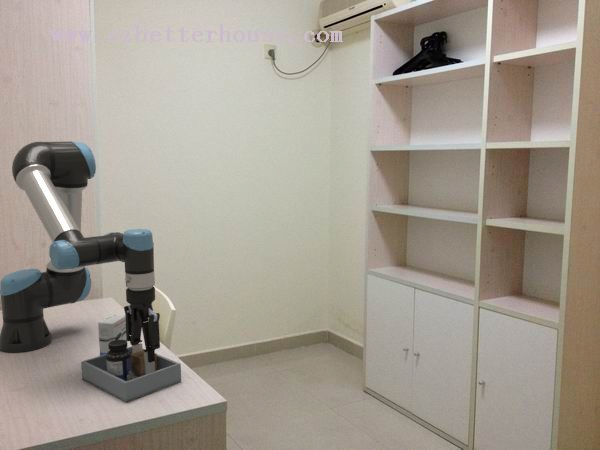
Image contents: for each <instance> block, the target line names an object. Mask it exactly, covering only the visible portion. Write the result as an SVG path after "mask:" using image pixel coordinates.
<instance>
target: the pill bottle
mask: <svg viewBox="0 0 600 450" xmlns="http://www.w3.org/2000/svg"><path fill="white" fill-rule="evenodd" d="M127 343H128V341H126V340H114V341H111V342H109V344H108V348H109V349H110V351H109V352H108V353H107V355H106V360H107V372H108V373H110V374H112V375H114V376H116V377H118V378H120V379H122V380H124V381H129V380H132V372H131V353H130V351H129V350H128V349H127Z"/></svg>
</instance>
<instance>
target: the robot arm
mask: <svg viewBox="0 0 600 450" xmlns="http://www.w3.org/2000/svg"><path fill="white" fill-rule="evenodd" d="M96 169H97V163H96V159H95V155H94V153H93V151H92V150H91V147H90V146H88V145H87V144H86V143H84V142H81V141H35V142H30V143H28V144H26V145H24V146H23V147H21V149H19V151H18V152H17V153H16V154H15V156H14V158H13V161H12V166H11V173H12V177H13V180H14V182H15V184H16V185H17V187H18V188H19V189H21V190H22V191H24V192H25V194H26V196H27V198H28V200H29V201H30V203H31V205H32V207H33V209H34V210H35V212H36V214H37V216H38V218H39V220H40V222H41V223H42V225H43V227H44V229H45V231H46V233H47V234H48V236H49V238H50V240H51V244H50V246H49V249H48V250H49V251H48V252H49V253H48V255H49V258H50V260H49V261H48V262H47V263H46V270H45V271H43V272H42V271H41V270H40V269H39V268H38V269H37V268H28V269H20V270H16V271H13V272H10V273H8V274H6V275H4V276H3V277H2V278H1V279H0V304H1V311H2V315H1V316H2V326H1V330H0V351H2V352H6V353H22V352H23V353H24V352H28V351H33V350H37V349H41V348H44V347H46V346H48V345H50V344H51V342H52V334H51V331H50V329H49V326H48V325H47V322H46V320H45V318H44V317H45V315H44V309H49V308H54V307H58V306H59V307H60V306H63V305H68V304H69V305H70V304H75V303H77V302H81V301H83V300H85V299H87V298H88V296H89V294H90V293H91V292H90V291H91V288H92V277H91V271H90V270H89V268H88V267H89V266H95V265H102V264H108V263H113V262H121V263H124V273H125V279H124V280H125V287H126V289H125V298H126V303H127V304H129V305H125V306H124V307H123V309H124V315H125V316H126V339H127V342H129V343H130V345H131V346H132V354H133V353H136V352H139V351H142V348H143V343H142V342H143V341H144V347H145V348H144V349H145V350H144V362H145V374H149V373H152V372H155V353H156V350H157V349H160V347H161V340H160V318H161V317H160V316H161V315H160V313H159V312H155V311H154V309H153V303H154V301H155V300H156V287H154V286H155V283H156V281H155V280H156V278H155V257H154V255H155V254H154V248H155V247H154V246H155V243H154V241H153V240H154V239H153V232H152V231H151V230H150V229H147V228H143V229H142V228H134V229H128V230H126V231H123V233H122V232H119V231H118V232H113V231H112V232H108V233H106V234H104V235H98V236H97V235H96V236H90V237H87V236H86V237H84V235H83V234H82V211H83V209H82V208H83V207H82V206H83V202H82V201H83V191H84V190H85V189H86V188H87V187H88V180H91V179H92V178H94V177H95V174H96ZM142 336H143V340H142V339H141V337H142Z"/></svg>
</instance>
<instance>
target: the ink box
mask: <svg viewBox="0 0 600 450" xmlns="http://www.w3.org/2000/svg"><path fill="white" fill-rule="evenodd" d="M97 323H98V325H97V326H98V342H99V356H101V355H105V354H107V353H108V352H109V351H110V349H109V348H108V344H109V342H111V341H114V340H126V341H127V339H126V316H125V314H124V315H123V314H110V315H108V316H107V317H105V318H103V319H100V320H99V321H98V322H97ZM128 347H129V345H128V341H127V348H128Z"/></svg>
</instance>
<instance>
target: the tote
mask: <svg viewBox="0 0 600 450" xmlns="http://www.w3.org/2000/svg"><path fill="white" fill-rule="evenodd" d="M127 349H128V350H129V351H130V353H131V354H132V345H131V346H128V348H127ZM145 349H146V348H143V347H142V350H145ZM106 355H107V354H105V355H101V356H100V355H98V356H95V357H93V358H89V359H86V360H81V379H82V380H83V381H85V382H87V383H89V384H90V385H92V386H94V387H96V388H98V389H99V390H102V391H103V392H105V393H108V395H111V396H113V397H114V398H116V399H118V400H121V401H123V402H124V403H125V404H126V403H129V402H133V401H134V400H137V399H139V398H142V397H145V396H147V395H150V394H152V393H153V394H154V393H155V392H158V391H160V390H163V389H166V388H168V387H171V386H173V385H176V384H179V383H181V382H182V366H181V365H182V364H181V362H180V363H179V362H177V361H175V360H173V359H171V358H168V357H165V356H162V355H160V354H158V353H156V355H157V371H155V372H152V373H149V374H146V375H143V376H139V375H137V374H135V373H132V380H129V381H124V380H122V379H120V378H118V377H116V376H114V375H112V374H110V373H108V372H107V360H106Z"/></svg>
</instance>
